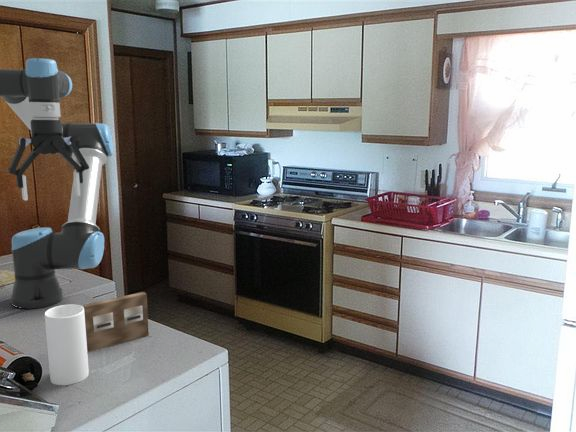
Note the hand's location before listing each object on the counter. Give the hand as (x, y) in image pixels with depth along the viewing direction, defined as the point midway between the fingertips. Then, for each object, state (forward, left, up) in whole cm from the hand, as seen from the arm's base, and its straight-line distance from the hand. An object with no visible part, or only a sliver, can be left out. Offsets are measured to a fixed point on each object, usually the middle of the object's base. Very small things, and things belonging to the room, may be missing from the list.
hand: (52, 197), depth 142 cm
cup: (+25, +23, -37) cm, 50 cm away
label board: (+4, +21, -37) cm, 42 cm away
